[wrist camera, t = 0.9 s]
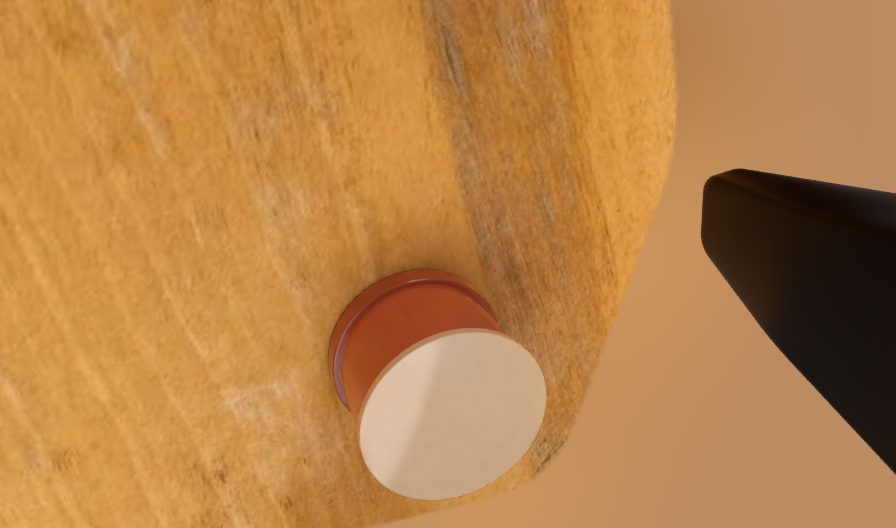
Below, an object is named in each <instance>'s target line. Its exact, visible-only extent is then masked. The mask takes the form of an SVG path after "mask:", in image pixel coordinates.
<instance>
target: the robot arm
mask: <svg viewBox="0 0 896 528" xmlns="http://www.w3.org/2000/svg"><path fill="white" fill-rule="evenodd" d="M701 239H702V244H703V247H704V250H705V252H706V254H707V255H708V257H709V258H710V259H711V261H712V262H713V264H714V265H715V266H716V267H717V269H718V270H719V271H720V273H721V274H722V276H723V277H724V278H725V280H726V281H727V282H728V283H729V285H730V286H731V288H732V289H733V290H734V292H735V293H736V294H737V296H738V297H739V298H740V300H741V301H742V302H743V304H744V305H745V306H746V308H747V309H748V310H749V312H750V313H751V314H752V316H753V317H754V318H755V320H756V321H757V322H758V324H759V325H760V326H761V328H762V329H763V330H764V331H765V333H766V334H767V335H768V336H769V338H770V339H771V340H772V341H773V343H774V344H775V345H776V346H777V347H778V348H779V350H780V351H781V352H782V353H783V354H784V355H785V356H786V357H787V358H788V360H789V361H790V362H791V363H792V364H793V365H794V366H795V367H796V368H797V369H798V370H799V371H800V372H801V373H802V375H803V376H804V377H805V378H806V379H807V380H808V381H809V382H810V383H811V384H812V385H813V386H814V387H815V389H816V390H817V391H818V392H819V393H820V394H821V395H822V396H823V397H824V398H825V399H826V400H827V401H828V402H829V404H830V405H831V406H832V407H833V408H834V409H835V410H836V411H837V412H838V413H839V414H840V415H841V416H842V417H843V418H844V420H845V421H846V422H847V423H848V424H849V425H850V426H851V427H852V428H853V429H854V430H855V431H856V433H857V434H858V435H859V436H860V437H861V438H862V439H863V440H864V441H865V442H866V443H867V444H868V445H869V446H870V447H871V449H872V450H873V451H874V452H875V453H876V454H877V455H878V456H879V457H880V458H881V459H882V460H883V461H884V463H885V464H886V465H887V466H888V467H889V468H890V469H891V470H892V471H893V472H894V473H895V474H896V193H890V192H884V191H877V190H871V189H865V188H859V187H853V186H846V185H840V184H834V183H828V182H822V181H816V180H809V179H803V178H797V177H791V176H785V175H778V174H772V173H766V172H760V171H754V170H747V169H733V170H730V171H727V172H724V173H720V174H717V175H714V176H712V177H710V178H709V179H708V180H707V181H706V183H705V185H704V189H703V206H702V224H701Z"/></svg>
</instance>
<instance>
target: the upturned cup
mask: <svg viewBox="0 0 896 528" xmlns="http://www.w3.org/2000/svg"><path fill="white" fill-rule="evenodd" d="M328 362H329V371H330V376H331V378H332V381H333V384H334V386H335V389H336V391H337V394H338V396H339V398H340V399H341V401H342V403H343V404H344V405H345V407H346V408H347V409H348V410H349V411H350V412H351V413H352V415H353V417H354V420H355V422H356V424H357V437H358V444H359V449H360V452H361V454H362V457H363V460H364V462H365V464H366V466H367V468H368V469H369V471H370V473H371V474H372V475H373V476H374V477H375V479H376V480H377V481H379V482H380V483H381V484H382V485H383V486H385V487H386V488H388V489H389V490H391V491H393V492H395V493H397V494H400V495H402V496H405V497H409V498H413V499H419V500H444V499H450V498H455V497H460V496H463V495H466V494H469V493H472V492H474V491H476V490H478V489H481V488H483V487H485V486H486V485H488V484H490V483H492V482H493V481H495V480H496V479H498V478H499V477H501V476H502V475H503V474H505V473H506V472H507V471H508V470H509V469H511V468H512V467H513V466H514V465H515V464H516V463H517V462H518V461H519V460H520V459H521V457H522V456H523V455H524V454H525V452H526V451H527V450H528V449H529V447H530V446H531V444H532V442H533V441H534V439H535V437H536V435H537V433H538V431H539V429H540V426H541V424H542V421H543V418H544V413H545V409H546V399H547V397H546V385H545V380H544V376H543V374H542V371H541V368H540V367H539V365H538V363H537V362H536V360H535V359H534V357H533V356H532V355H531V354H530V353H529V351H528V350H527V349H526V348H525V347H524V346H523V345H521V344H520V343H519V342H518V341H516V340H515V339H513V338H511V337H509V336H507V335H506V333H505V332H504V331H503V330H502V329H501V327H500V326H499V325H498V321H497V318H496V316H495V313H494V311H493V310H492V308H491V306H490V305H489V303H488V302H487V301H486V300H485V299H484V297H483V296H482V295H481V294H480V293H479V291H478V290H477V289H476V288H475V287H473V286H472V285H471V284H470V283H469V282H467V281H465V280H464V279H462V278H461V277H458V276H456V275H454V274H451V273H447V272H444V271H438V270H412V271H406V272H402V273H398V274H395V275H392V276H390V277H387V278H385V279H383V280H381V281H379V282H377V283H375V284H374V285H372V286H371V287H369V288H368V289H366V290H365V291H364V292H362V293H361V294H360V295H359V296H358V297H357V298H356V299H355V300H354V301H353V302H352V303H351V304H350V305H349V306H348V307H347V309H346V310H345V312H344V313H343V314H342V316H341V318H340V319H339V321H338V323H337V325H336V327H335V329H334V332H333V334H332V338H331V342H330V345H329V354H328Z"/></svg>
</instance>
